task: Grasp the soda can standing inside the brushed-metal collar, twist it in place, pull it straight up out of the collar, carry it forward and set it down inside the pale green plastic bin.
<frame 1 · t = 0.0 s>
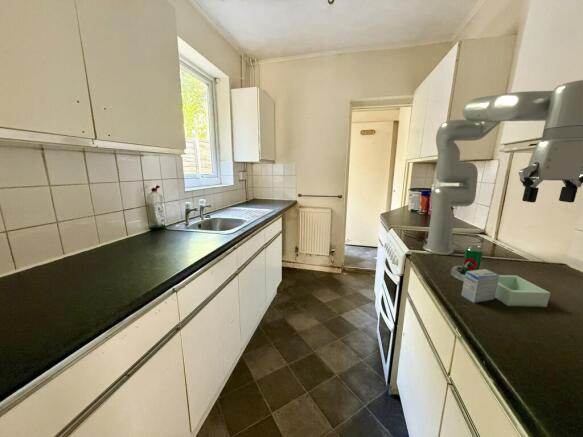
hand: (547, 201, 63), 31 cm above the countertop, fingers open, 9 cm apart
bin: (510, 296, 73), on the countertop
soda can: (469, 277, 86), resting in collar
collar: (469, 276, 86), on the countertop
medicine box: (477, 298, 73), on the countertop
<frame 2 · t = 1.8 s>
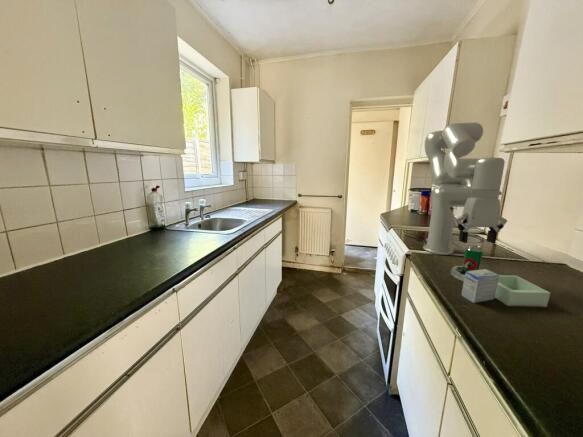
hand: (476, 242, 83), 14 cm above the countertop, fingers open, 9 cm apart
nothing on the countertop moved.
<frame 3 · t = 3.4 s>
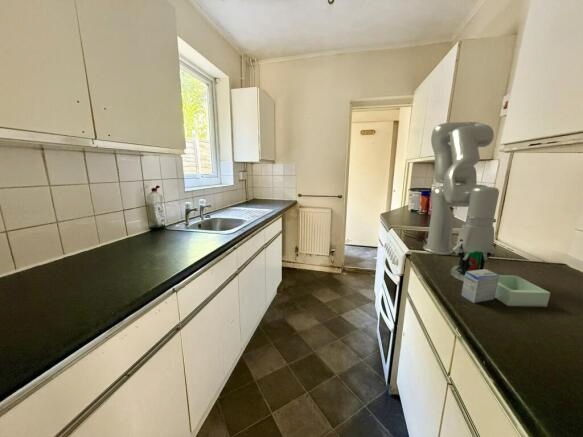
hand: (470, 268, 86), 3 cm above the countertop, fingers closed on soda can, 5 cm apart
soda can: (469, 277, 86), resting in collar, touching gripper
everything else where it was.
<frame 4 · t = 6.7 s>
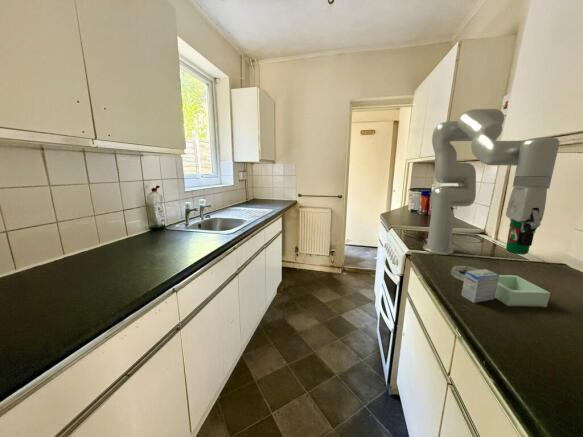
hand: (518, 241, 70), 18 cm above the countertop, fingers closed on soda can, 5 cm apart
soda can: (516, 252, 71), point 14 cm above the countertop, touching gripper
everything else where it was.
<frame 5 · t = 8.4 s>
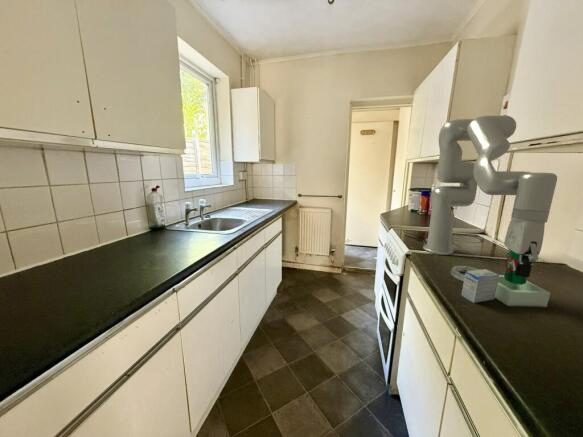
hand: (516, 271, 71), 9 cm above the countertop, fingers closed on soda can, 5 cm apart
soda can: (514, 282, 72), point 5 cm above the countertop, touching gripper
everything else where it was.
when the fingers open (6 cm above the countertop, at t = 9.8 s): soda can drops 2 cm, resting on bin.
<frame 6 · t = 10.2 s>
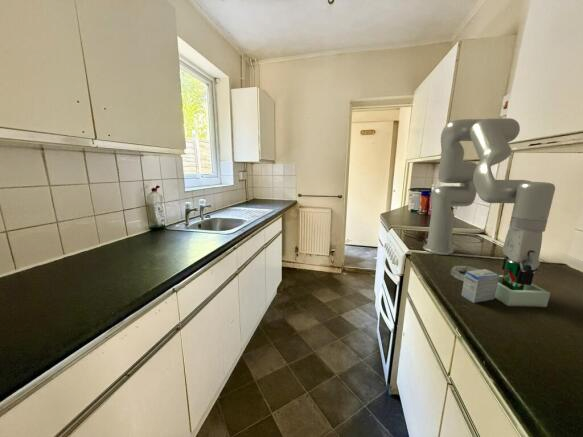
hand: (515, 276, 72), 7 cm above the countertop, fingers open, 9 cm apart
soda can: (510, 294, 74), resting on bin
everything else where it was.
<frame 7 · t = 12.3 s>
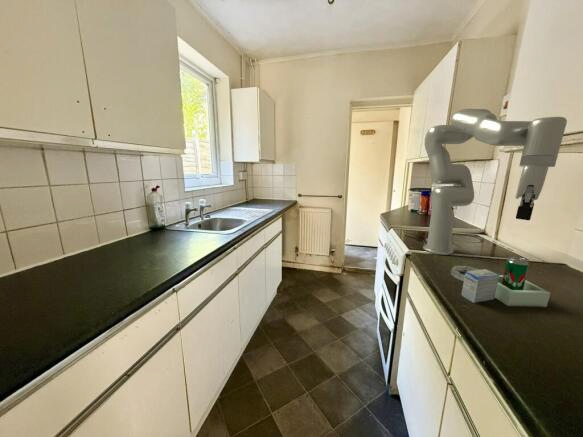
hand: (523, 216, 73), 25 cm above the countertop, fingers open, 9 cm apart
nothing on the countertop moved.
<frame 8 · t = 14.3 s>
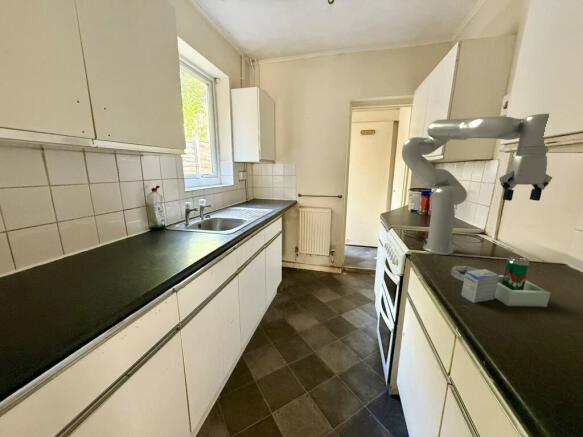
hand: (520, 200, 85), 28 cm above the countertop, fingers open, 9 cm apart
nothing on the countertop moved.
at the end: soda can inside the target area on the bin (0.3 cm from its centre), point 0.4 cm above the bin's base; soda can touching bin; soda can tilted 0° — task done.
